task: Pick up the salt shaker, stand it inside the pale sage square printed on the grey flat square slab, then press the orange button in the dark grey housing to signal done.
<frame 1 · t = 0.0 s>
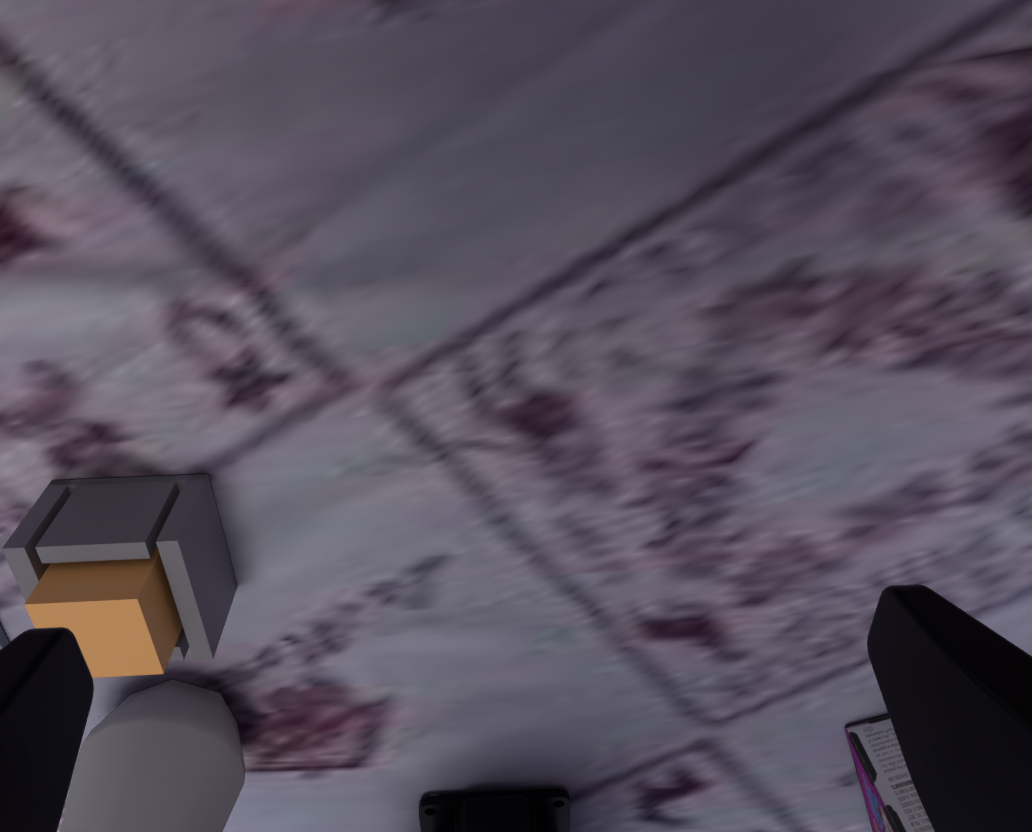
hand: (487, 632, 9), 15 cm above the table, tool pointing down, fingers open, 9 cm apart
salt shaker: (182, 712, 31), on the table
push button: (114, 605, 24), point 3 cm above the table, slide at 0.0 cm
candy bar box: (912, 774, 36), on the table
button housing: (149, 536, 26), on the table
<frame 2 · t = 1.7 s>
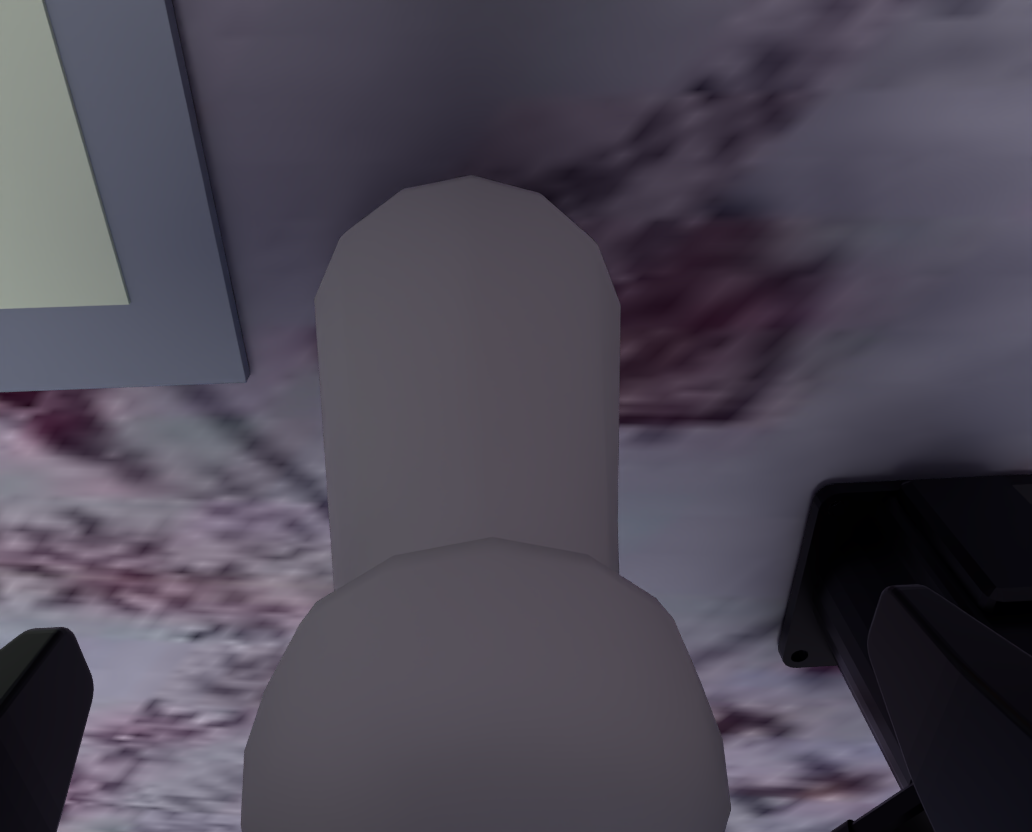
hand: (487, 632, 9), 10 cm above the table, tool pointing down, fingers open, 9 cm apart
salt shaker: (467, 280, 18), on the table
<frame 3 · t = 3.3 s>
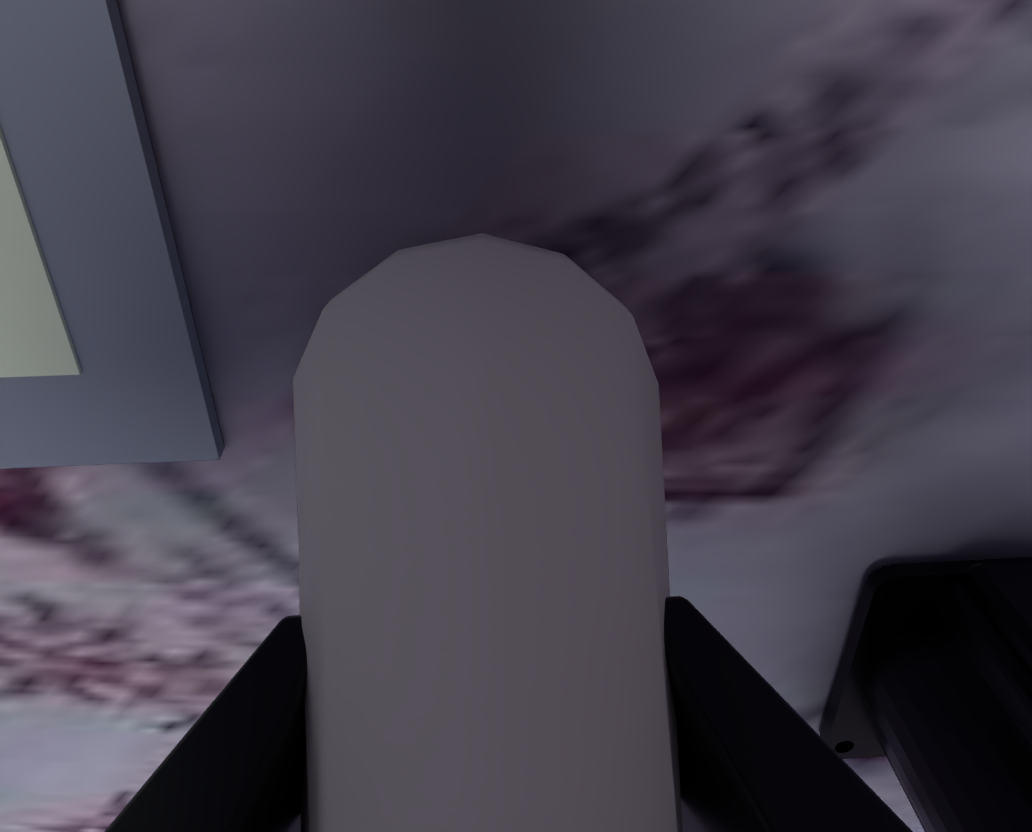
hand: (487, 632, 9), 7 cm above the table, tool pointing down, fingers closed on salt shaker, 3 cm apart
salt shaker: (475, 343, 15), on the table, touching gripper
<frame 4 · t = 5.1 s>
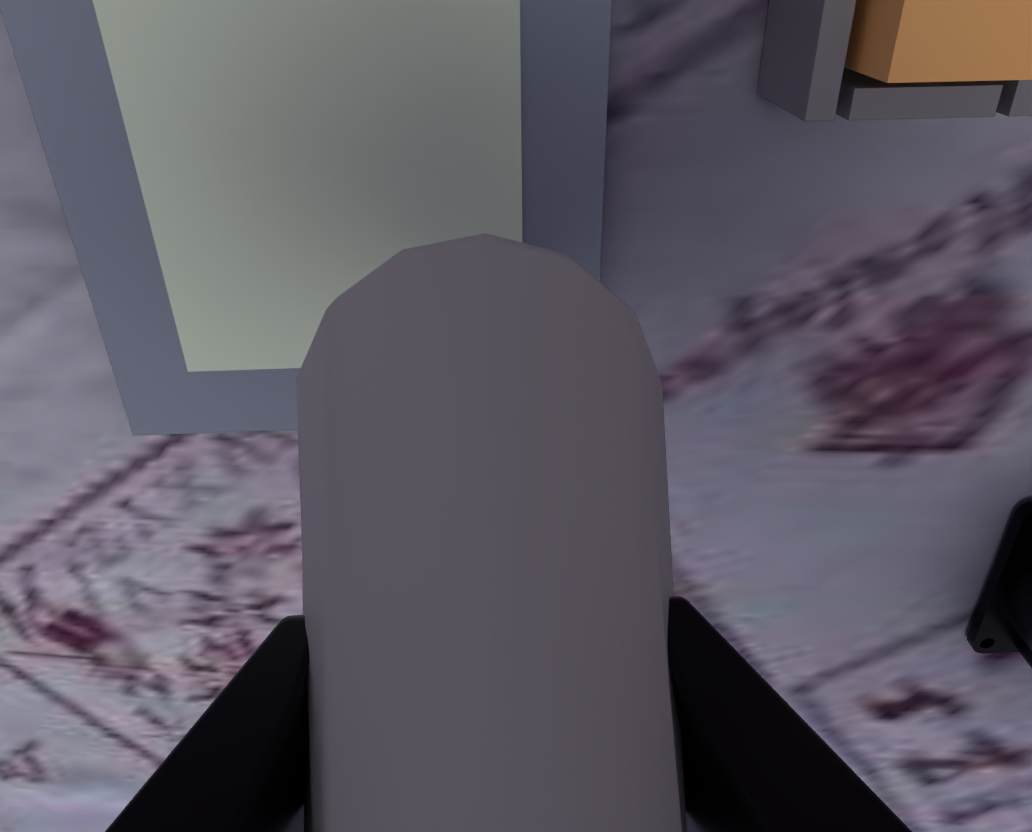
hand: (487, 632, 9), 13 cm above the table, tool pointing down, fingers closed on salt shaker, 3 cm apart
grey flat square slab: (337, 194, 20), on the table
salt shaker: (478, 343, 15), point 6 cm above the table, touching gripper
when the fingers open (8 cm above the table, at t = 6.9 s): salt shaker stays where it is, resting on grey flat square slab.
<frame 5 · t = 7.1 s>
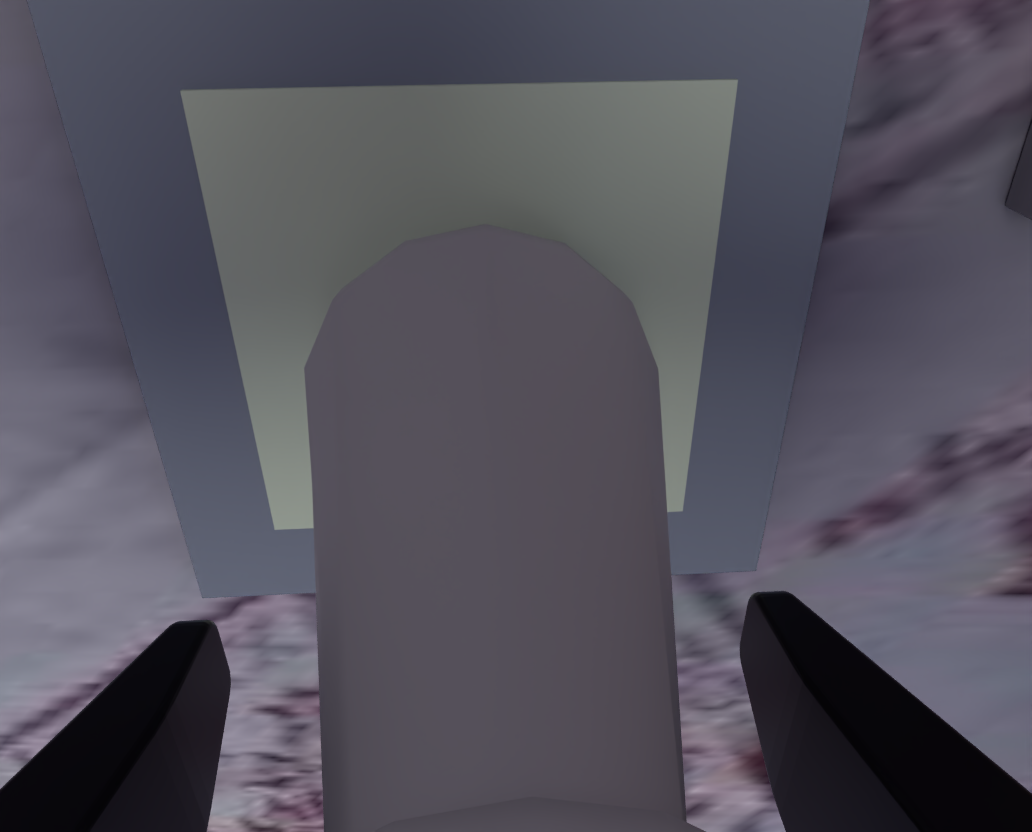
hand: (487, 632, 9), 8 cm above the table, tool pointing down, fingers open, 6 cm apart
grey flat square slab: (473, 325, 16), on the table
salt shaker: (479, 333, 15), resting on grey flat square slab
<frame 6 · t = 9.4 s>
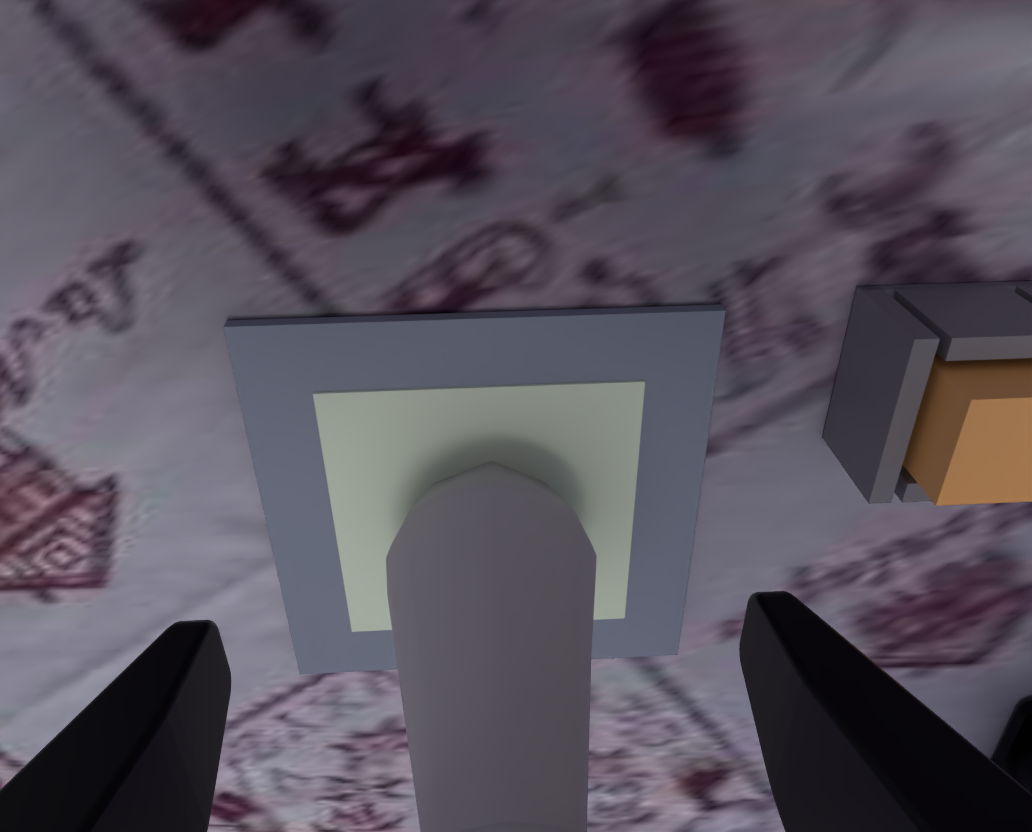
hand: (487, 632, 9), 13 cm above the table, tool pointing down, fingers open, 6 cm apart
grey flat square slab: (484, 507, 24), on the table
salt shaker: (489, 514, 24), resting on grey flat square slab
push button: (983, 422, 20), point 3 cm above the table, slide at 0.0 cm
button housing: (921, 363, 23), on the table
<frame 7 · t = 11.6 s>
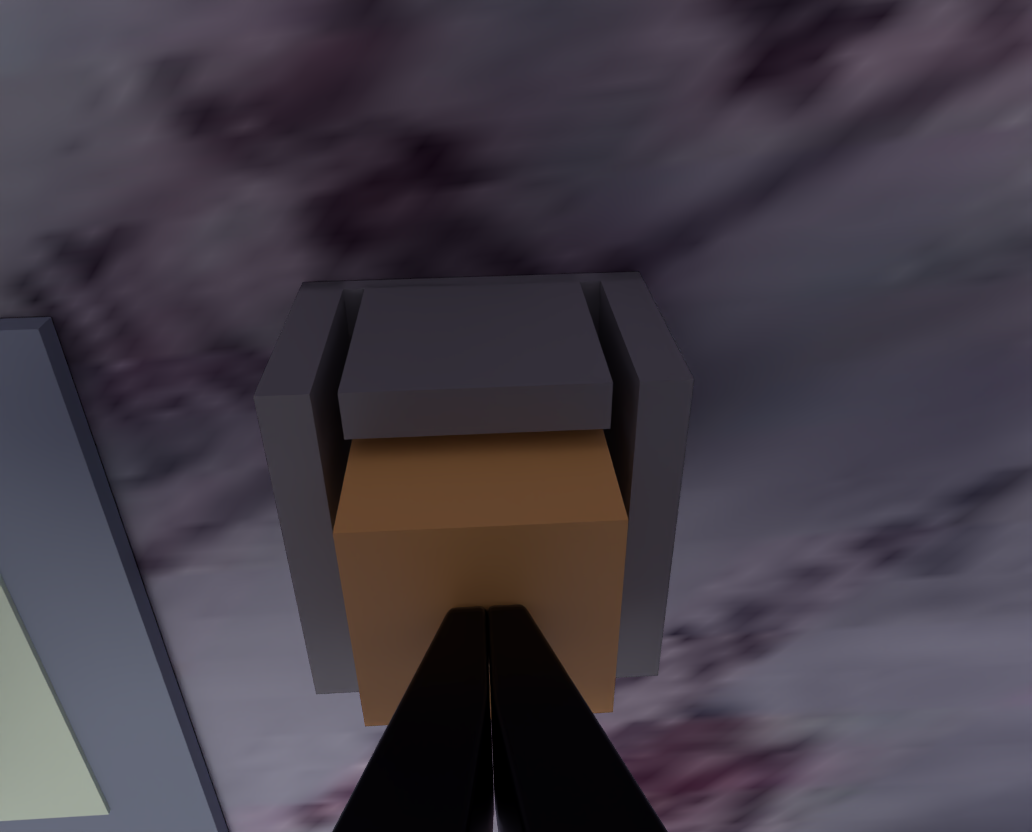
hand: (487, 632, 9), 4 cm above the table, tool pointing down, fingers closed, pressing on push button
push button: (483, 550, 10), point 3 cm above the table, slide at 0.0 cm, touching gripper
button housing: (478, 419, 13), on the table
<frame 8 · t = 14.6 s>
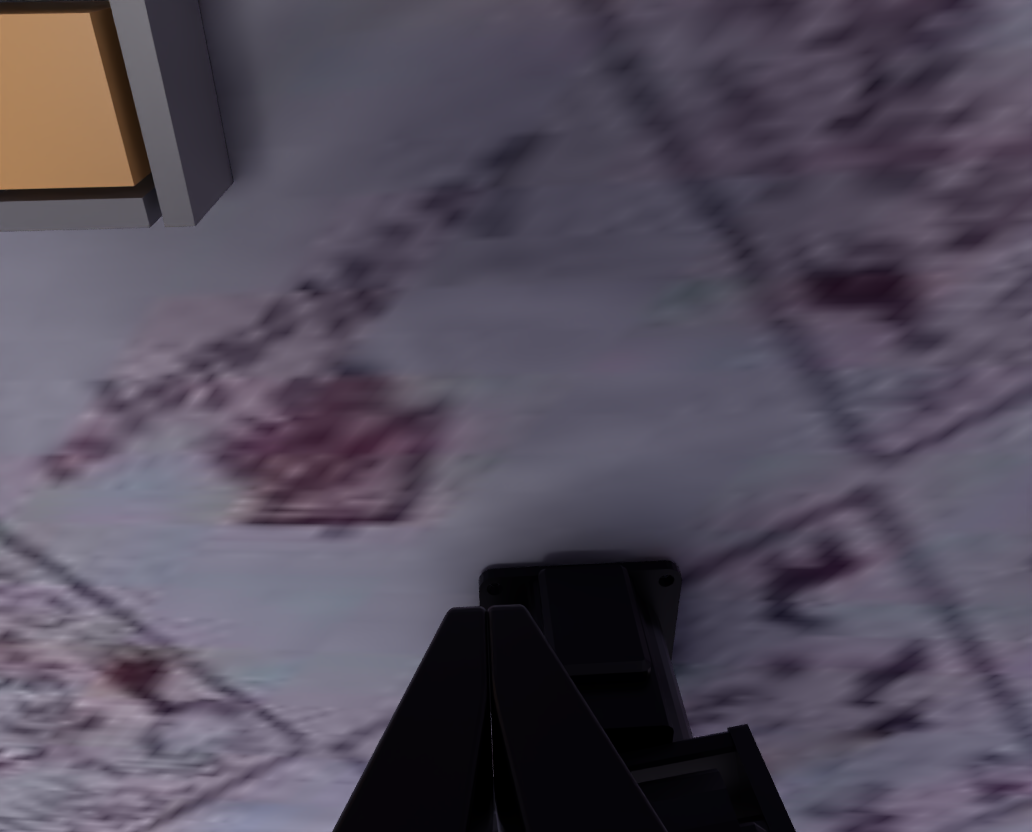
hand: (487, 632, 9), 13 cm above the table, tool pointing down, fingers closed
push button: (60, 92, 16), point 2 cm above the table, slide at 1.1 cm
button housing: (100, 75, 18), on the table
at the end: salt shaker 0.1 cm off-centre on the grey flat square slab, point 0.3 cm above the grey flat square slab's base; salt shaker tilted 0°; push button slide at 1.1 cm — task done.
